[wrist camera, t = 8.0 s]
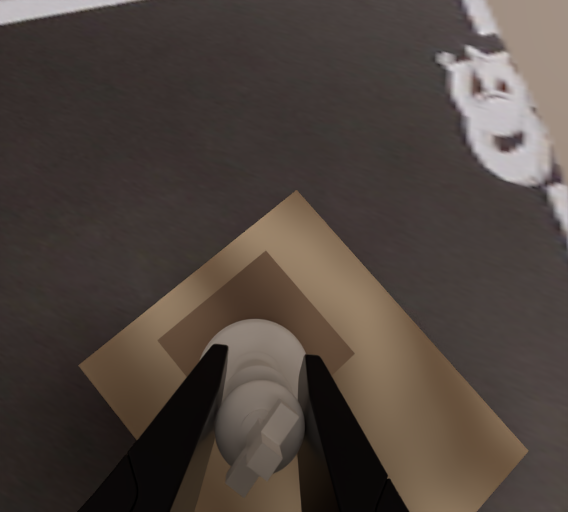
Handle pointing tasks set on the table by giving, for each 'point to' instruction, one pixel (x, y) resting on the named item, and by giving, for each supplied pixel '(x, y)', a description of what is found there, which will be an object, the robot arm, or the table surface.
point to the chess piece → (259, 401)
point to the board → (335, 354)
